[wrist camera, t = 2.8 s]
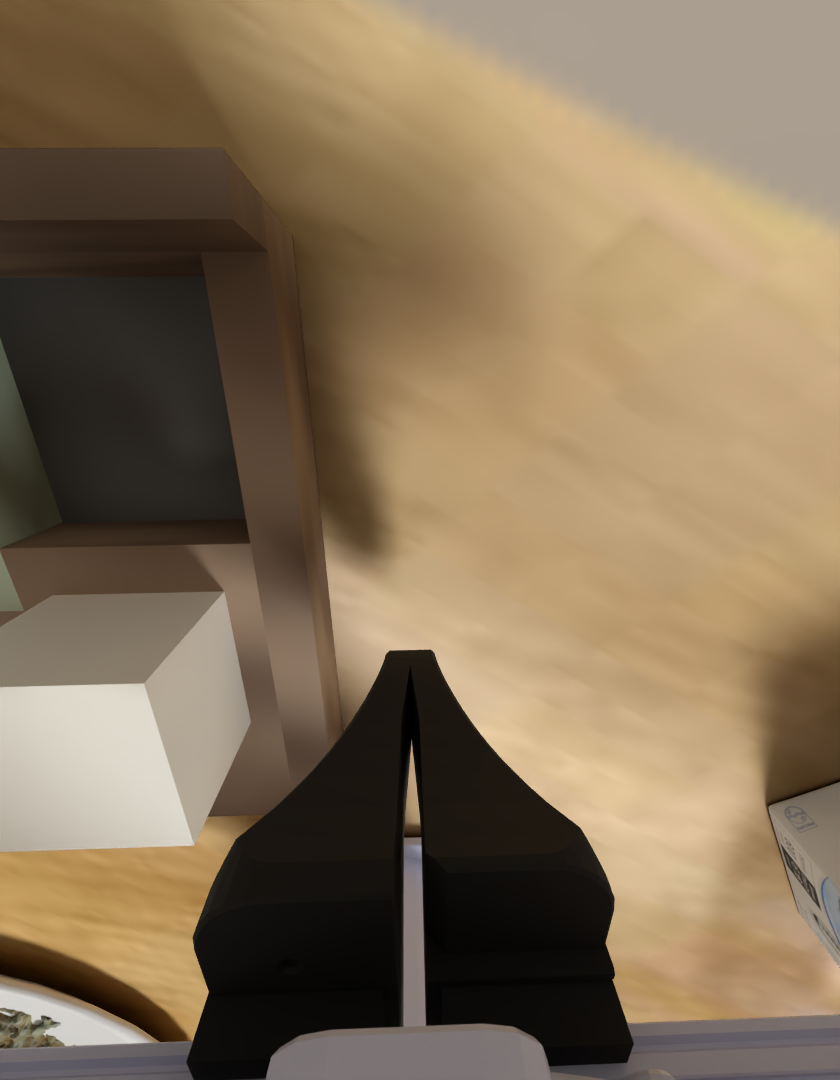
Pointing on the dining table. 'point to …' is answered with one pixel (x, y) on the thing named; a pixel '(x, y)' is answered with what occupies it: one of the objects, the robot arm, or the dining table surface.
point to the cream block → (116, 719)
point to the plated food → (57, 1019)
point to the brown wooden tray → (167, 422)
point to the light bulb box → (813, 859)
